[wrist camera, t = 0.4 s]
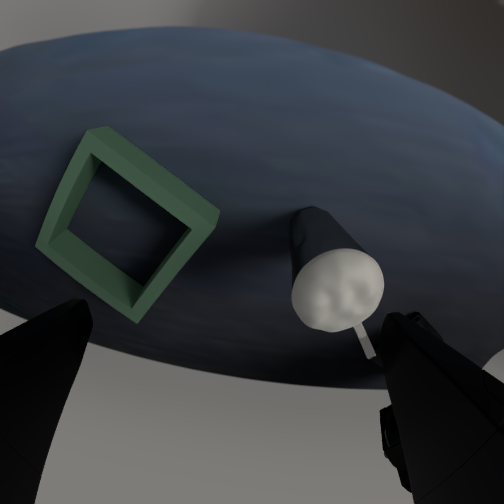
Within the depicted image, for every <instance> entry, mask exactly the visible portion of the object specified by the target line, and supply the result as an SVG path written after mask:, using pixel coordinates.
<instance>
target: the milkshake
mask: <svg viewBox="0 0 504 504" xmlns="http://www.w3.org/2000/svg"><path fill="white" fill-rule="evenodd" d="M289 240H290V252H291V265H292V304H293V307H294V310H295V311H296V313H297V315H298V316H299V318H300V319H301V320H302V321H303V323H304V324H306V325H307V326H309V327H311V328H314V329H319V330H323V331H327V332H338V331H342V330H345V329H348V328H351V327H354V329H355V331H356V334H357V336H358V338H359V340H360V343H361V345H362V347H363V350H364V352H365V354H366V357H367V359H370V358H372V357H374V356H376V354H375V351H374V349H373V347H372V344H371V342H370V340H369V338H368V335H367V333H366V331H365V329H364V327H363V325H362V322H363V321H364V320H365V319H366V318H368V317H369V316H370V315H371V314H372V313H373V312H374V311H375V310H376V308H377V306H378V304H379V302H380V300H381V297H382V294H383V289H384V279H383V275H382V272H381V269H380V267H379V265H378V264H377V262H376V261H375V260H374V259H373V258H372V257H371V256H370V255H369V254H368V253H367V252H366V251H365V250H364V249H363V248H362V247H361V246H360V245H359V244H358V243H357V242H356V241H355V240H354V239H353V238H352V237H351V236H350V235H349V234H348V233H347V232H346V230H345V229H344V228H343V227H342V226H341V225H340V224H339V223H338V222H337V221H336V220H335V219H334V218H333V217H332V215H331V214H330V213H329V212H327V211H325V210H322V209H320V208H317V207H315V206H314V207H310V208H306V209H302V210H300V211H299V212H298V213H297V214H296V215H295V216H294V217H293V218H292V220H291V221H290V231H289Z"/></svg>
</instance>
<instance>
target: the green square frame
mask: <svg viewBox="0 0 504 504" xmlns="http://www.w3.org/2000/svg"><path fill="white" fill-rule="evenodd" d="M102 161H103V162H104V163H105V164H106V165H108V166H109V167H110V168H112V169H113V170H114V171H115V172H117V173H118V174H119V175H121V176H122V177H123V178H125V179H126V180H127V181H129V182H130V183H131V184H132V185H134V186H135V187H136V188H138V189H139V190H140V191H142V192H143V193H144V194H146V195H147V196H148V197H150V198H151V199H152V200H154V201H155V202H156V203H157V204H159V205H160V206H161V207H163V208H164V209H165V210H167V211H168V212H169V213H171V214H172V215H173V216H175V217H176V218H177V219H179V220H180V221H181V222H183V223H184V224H185V225H187V226H188V227H189V228H188V229H187V230H186V231H185V233H184V234H183V235H182V236H181V238H180V239H179V240H178V242H177V243H176V244H175V245H174V247H173V248H172V249H171V251H170V252H169V253H168V255H167V256H166V257H165V258H164V260H163V261H162V262H161V264H160V265H159V266H158V268H157V269H156V270H155V272H154V273H153V274H152V276H151V277H150V278H149V280H148V281H147V283H146V284H145V285H144V287H143V286H142V285H140V284H139V283H138V282H136V281H135V280H133V279H132V278H131V277H129V276H128V275H126V274H125V273H124V272H122V271H121V270H120V269H118V268H117V267H116V266H114V265H113V264H112V263H110V262H109V261H107V260H106V259H105V258H104V257H102V256H101V255H100V254H98V253H97V252H96V251H94V250H93V249H92V248H90V247H89V246H88V245H87V244H85V243H84V242H83V241H82V240H80V239H79V238H78V237H77V236H75V235H74V234H73V233H72V232H70V231H69V230H68V229H67V228H68V226H69V223H70V221H71V219H72V217H73V215H74V213H75V211H76V209H77V207H78V205H79V202H80V200H81V199H82V197H83V195H84V193H85V191H86V189H87V187H88V185H89V183H90V181H91V179H92V178H93V176H94V174H95V172H96V170H97V169H98V167H99V165H100V163H101V162H102ZM219 214H220V210H219V209H217V208H216V207H215V206H213V205H212V204H211V203H210V202H208V201H207V200H206V199H204V198H203V197H202V196H200V195H199V194H198V193H196V192H195V191H194V190H193V189H191V188H190V187H189V186H187V185H186V184H185V183H183V182H182V181H181V180H179V179H178V178H177V177H176V176H174V175H173V174H172V173H170V172H169V171H168V170H166V169H165V168H164V167H162V166H161V165H160V164H158V163H157V162H156V161H154V160H153V159H152V158H150V157H149V156H148V155H147V154H145V153H144V152H143V151H141V150H140V149H139V148H137V147H136V146H135V145H133V144H132V143H131V142H129V141H128V140H127V139H125V138H124V137H123V136H121V135H120V134H119V133H117V132H116V131H115V130H113V129H112V128H111V127H109V126H105V127H100V128H95V129H90V130H87V131H86V133H85V135H84V137H83V139H82V140H81V142H80V144H79V146H78V148H77V150H76V152H75V154H74V156H73V157H72V159H71V161H70V163H69V165H68V167H67V170H66V172H65V174H64V176H63V178H62V180H61V182H60V184H59V187H58V189H57V191H56V193H55V196H54V198H53V200H52V203H51V205H50V208H49V210H48V213H47V215H46V218H45V220H44V223H43V226H42V228H41V231H40V234H39V236H38V239H37V242H36V245H35V247H36V248H37V249H38V250H40V251H41V252H42V253H43V254H44V255H46V256H47V257H48V258H49V259H50V260H52V261H53V262H54V263H55V264H56V265H58V266H59V267H60V268H61V269H63V270H64V271H65V272H66V273H68V274H69V275H70V276H71V277H73V278H74V279H75V280H77V281H78V282H79V283H80V284H82V285H83V286H84V287H86V288H87V289H88V290H90V291H91V292H92V293H94V294H95V295H97V296H98V297H99V298H101V299H102V300H103V301H105V302H106V303H108V304H109V305H110V306H112V307H113V308H115V309H116V310H118V311H119V312H120V313H122V314H123V315H125V316H126V317H128V318H129V319H131V320H132V321H134V322H135V323H138V322H139V321H140V320H141V318H142V317H143V316H144V314H145V313H146V312H147V311H148V309H149V308H150V307H151V306H152V304H153V303H154V302H155V301H156V299H157V298H158V297H159V296H160V294H161V293H162V292H163V291H164V289H165V288H166V287H167V286H168V284H169V283H170V282H171V281H172V279H173V278H174V277H175V276H176V274H177V273H178V272H179V271H180V270H181V268H182V267H183V266H184V265H185V263H186V262H187V261H188V260H189V259H190V257H191V256H192V255H193V254H194V253H195V251H196V250H197V249H198V248H199V247H200V245H201V244H202V243H203V242H204V241H205V239H206V238H207V237H208V236H209V235H210V234H211V232H212V231H213V230H214V229H215V228H216V224H217V221H218V218H219Z"/></svg>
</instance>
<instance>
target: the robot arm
mask: <svg viewBox="0 0 504 504" xmlns="http://www.w3.org/2000/svg"><path fill="white" fill-rule="evenodd" d="M92 327H93V320H92V317H91V313H90V310H89V307H88V303H87V301H86V300H85V299H81V298H73V299H70V300H68V301H66V302H64V303H62V304H60V305H58V306H56V307H54V308H52V309H50V310H48V311H46V312H44V313H42V314H40V315H38V316H37V317H35V318H33V319H31V320H29V321H27V322H25V323H23V324H21V325H19V326H17V327H15V328H13V329H11V330H9V331H7V332H6V333H4V334H2V335H0V504H34V503H35V499H36V495H37V491H38V487H39V483H40V480H41V475H42V472H43V468H44V465H45V461H46V458H47V455H48V452H49V449H50V446H51V442H52V439H53V436H54V433H55V430H56V428H57V425H58V422H59V419H60V416H61V414H62V411H63V408H64V405H65V403H66V400H67V398H68V395H69V392H70V390H71V387H72V385H73V382H74V380H75V377H76V375H77V373H78V370H79V367H80V365H81V362H82V359H83V355H84V352H85V349H86V346H87V343H88V340H89V337H90V334H91V331H92ZM378 342H379V343H378V344H377V345H376V346H374V347H373V349H374V351H375V354H376V356H374V357H372V358H370V360H371V361H372V362H374V363H375V364H377V365H378V366H380V367H381V368H383V369H384V375H385V380H386V385H387V389H388V393H389V396H390V400H391V403H392V404H391V405H390V406H388V407H386V408H383V409H381V410H380V424H381V434H382V445H383V451H384V455H385V457H386V458H388V459H389V461H390V462H391V463H392V465H393V466H394V467H396V468H397V470H398V474H399V477H400V481H401V485H402V486H403V487H404V488H405V489H406V490H407V491H409V492H410V493H412V495H413V500H414V503H415V504H504V383H502V382H501V381H499V380H498V379H496V378H495V377H494V376H492V375H491V374H489V373H488V372H486V371H485V370H482V368H481V367H479V366H478V365H476V364H475V363H474V362H472V361H471V360H469V359H468V358H466V357H465V356H463V355H462V354H461V353H459V352H458V351H456V350H455V349H453V348H452V347H450V346H449V345H447V344H446V343H444V342H443V339H442V337H441V336H440V335H439V334H438V333H437V331H436V330H435V329H434V328H433V327H432V326H431V325H430V324H429V323H428V322H427V320H426V319H425V318H424V317H423V316H422V315H421V314H420V313H419V312H416V313H414V314H413V315H412V316H410V317H409V318H407V317H406V316H404V315H403V314H401V313H399V312H389V313H387V314H386V315H385V317H384V320H383V323H382V326H381V329H380V332H379V336H378Z"/></svg>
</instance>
